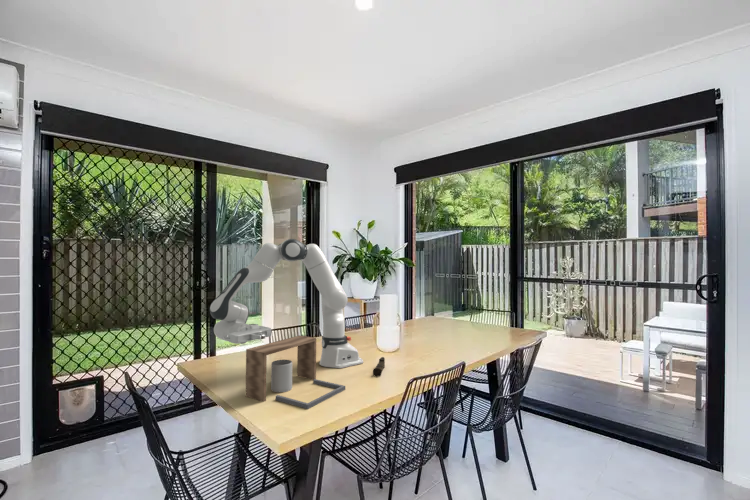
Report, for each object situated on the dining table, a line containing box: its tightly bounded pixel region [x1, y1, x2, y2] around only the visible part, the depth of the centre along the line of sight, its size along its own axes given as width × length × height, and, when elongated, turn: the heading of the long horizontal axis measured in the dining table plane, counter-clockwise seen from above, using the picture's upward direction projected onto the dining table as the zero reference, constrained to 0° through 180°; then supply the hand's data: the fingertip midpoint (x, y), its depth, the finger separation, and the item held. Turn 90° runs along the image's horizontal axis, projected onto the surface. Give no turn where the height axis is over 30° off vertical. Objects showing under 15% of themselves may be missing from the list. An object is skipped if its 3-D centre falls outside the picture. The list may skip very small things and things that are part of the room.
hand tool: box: [372, 356, 386, 377], centre depth 181 cm, size 19×4×5 cm, turn 167°
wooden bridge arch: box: [245, 335, 317, 403], centre depth 157 cm, size 10×30×18 cm, turn 149°
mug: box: [270, 359, 293, 393], centre depth 157 cm, size 12×8×11 cm
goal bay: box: [275, 378, 346, 410], centre depth 149 cm, size 16×23×2 cm
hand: (262, 337), depth 163 cm, fingers closed
